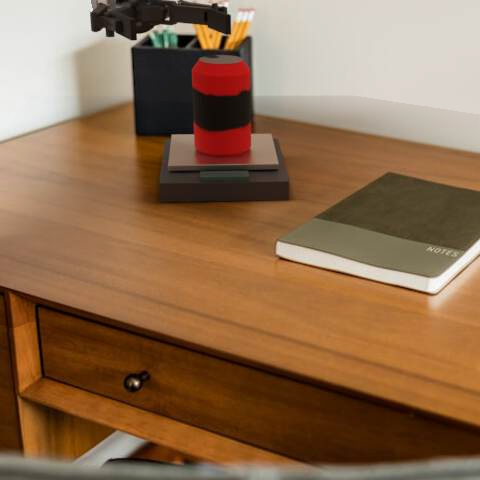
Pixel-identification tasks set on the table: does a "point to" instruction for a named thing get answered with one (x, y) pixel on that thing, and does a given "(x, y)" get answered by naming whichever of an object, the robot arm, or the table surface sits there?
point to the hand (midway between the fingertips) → (182, 27)
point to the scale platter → (193, 160)
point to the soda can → (221, 105)
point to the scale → (223, 183)
